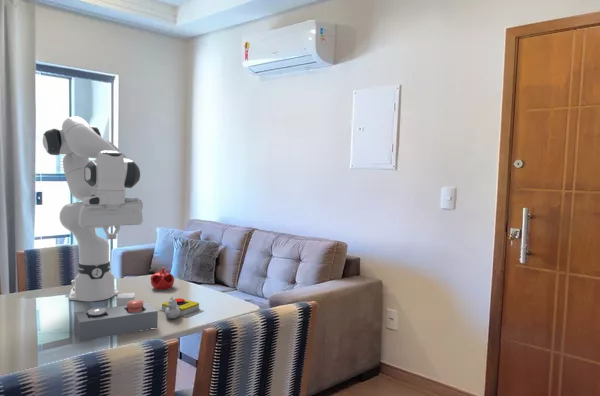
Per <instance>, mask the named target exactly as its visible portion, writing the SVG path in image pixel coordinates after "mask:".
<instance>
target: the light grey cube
mask: <svg viewBox="0 0 600 396" xmlns="http://www.w3.org/2000/svg"><path fill="white" fill-rule="evenodd" d="M132 300H136V293H135V292H128V293H119V294H117V295H116V307H117V306H125V305H127V302H128V301H132Z"/></svg>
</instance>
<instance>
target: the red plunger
mask: <svg viewBox="0 0 600 396" xmlns="http://www.w3.org/2000/svg"><path fill="white" fill-rule="evenodd" d="M143 303H144V300H141V299H135V300H132V301H128V302H127V308H128V313H130V312H137V311H142V307H143Z"/></svg>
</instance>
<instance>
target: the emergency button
mask: <svg viewBox="0 0 600 396" xmlns="http://www.w3.org/2000/svg"><path fill="white" fill-rule="evenodd" d="M174 299H175V300H176V301H177V305H179V309H180V315H181V317H184V316H185V317H184V318H188V317H189V318H190V317H192V316H195V315H197V314H200V313H202V312H204V310H203V309H201V308H200V303H199V302H198V301H197V302H196V301H193V300H189V299H185V298H181V297H178V298H173V300H174ZM168 302H169V300H168V301H165V302H162V303H161V308H160V309H161V310H162V311H161V312H164V311H165V310H166V308H168ZM180 315H179V316H180Z"/></svg>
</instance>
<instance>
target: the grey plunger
mask: <svg viewBox="0 0 600 396" xmlns="http://www.w3.org/2000/svg"><path fill="white" fill-rule="evenodd" d="M105 308H106V307H93V308H89V309H88V316H90V318H95V317H102V316H104V315H105V314H106V309H105Z"/></svg>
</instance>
